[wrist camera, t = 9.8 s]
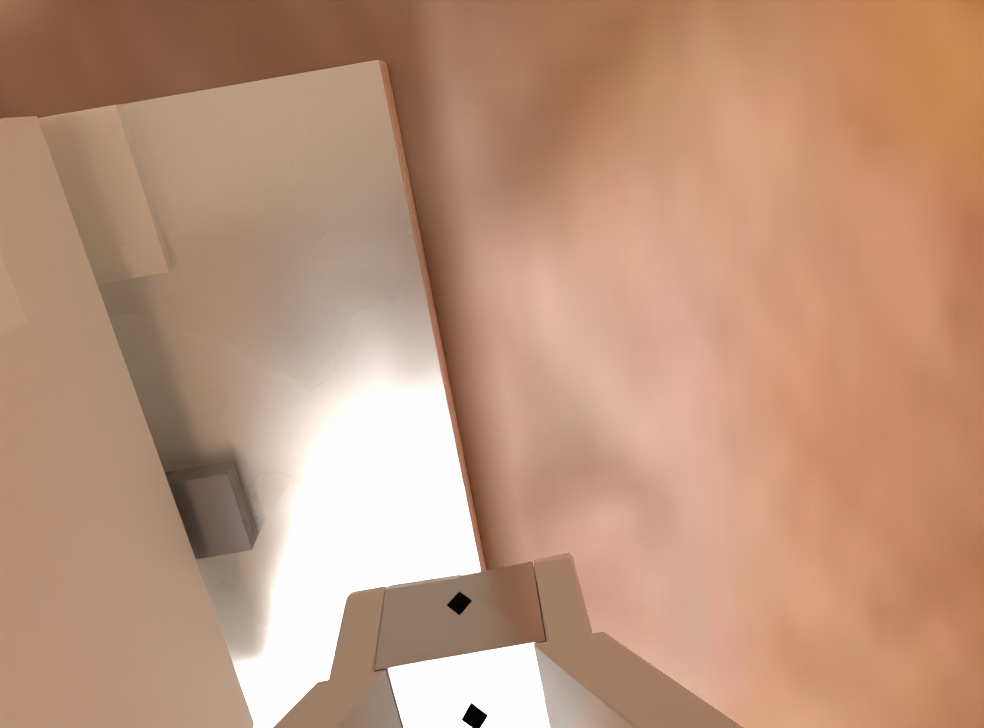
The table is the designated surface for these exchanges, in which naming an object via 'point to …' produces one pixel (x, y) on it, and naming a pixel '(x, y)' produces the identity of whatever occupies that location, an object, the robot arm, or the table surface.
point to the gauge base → (278, 349)
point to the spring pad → (86, 498)
